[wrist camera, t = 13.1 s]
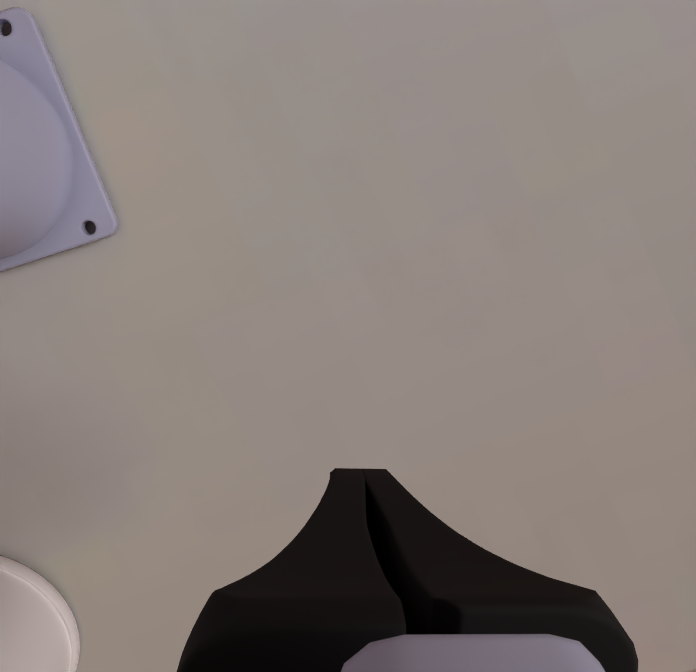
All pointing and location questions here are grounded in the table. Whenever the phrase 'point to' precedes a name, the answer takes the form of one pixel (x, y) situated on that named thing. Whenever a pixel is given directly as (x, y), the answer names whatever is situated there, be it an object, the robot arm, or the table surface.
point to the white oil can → (34, 623)
